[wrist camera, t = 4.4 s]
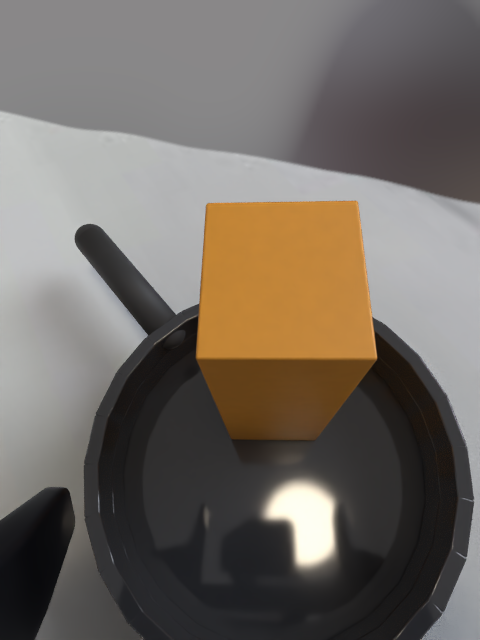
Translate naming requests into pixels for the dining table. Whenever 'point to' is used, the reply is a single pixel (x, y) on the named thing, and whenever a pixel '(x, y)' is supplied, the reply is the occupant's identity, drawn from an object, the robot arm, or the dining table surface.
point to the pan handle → (126, 282)
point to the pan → (276, 505)
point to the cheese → (283, 315)
